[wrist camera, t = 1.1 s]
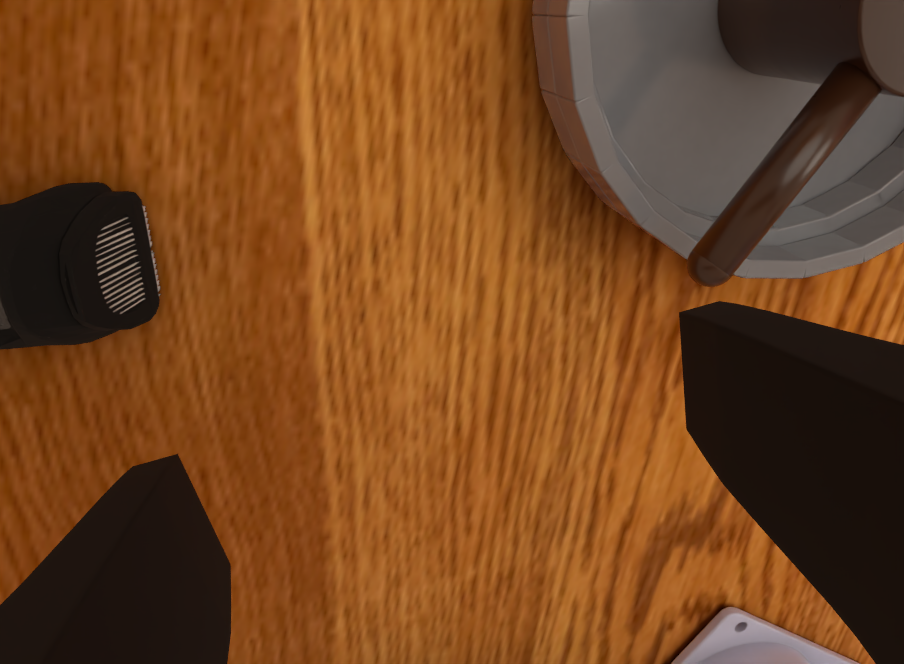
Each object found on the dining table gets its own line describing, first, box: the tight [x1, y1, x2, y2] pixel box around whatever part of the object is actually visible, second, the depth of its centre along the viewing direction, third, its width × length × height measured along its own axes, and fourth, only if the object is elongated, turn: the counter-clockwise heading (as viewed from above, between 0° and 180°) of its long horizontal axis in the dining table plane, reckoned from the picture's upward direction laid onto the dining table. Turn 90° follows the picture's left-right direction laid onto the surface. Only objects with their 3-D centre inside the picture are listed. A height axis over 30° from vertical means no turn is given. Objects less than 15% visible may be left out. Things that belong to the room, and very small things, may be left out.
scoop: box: [687, 0, 904, 287], centre depth 16 cm, size 4×9×5 cm, turn 146°
